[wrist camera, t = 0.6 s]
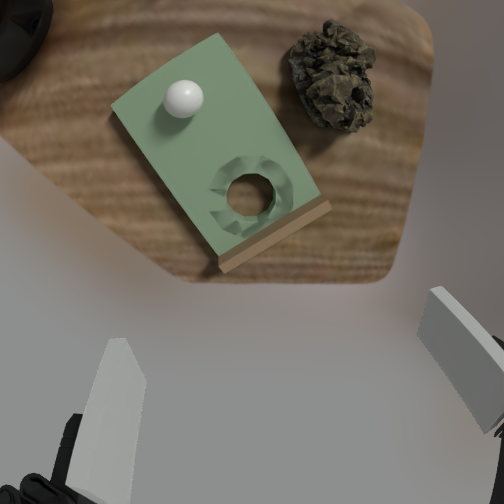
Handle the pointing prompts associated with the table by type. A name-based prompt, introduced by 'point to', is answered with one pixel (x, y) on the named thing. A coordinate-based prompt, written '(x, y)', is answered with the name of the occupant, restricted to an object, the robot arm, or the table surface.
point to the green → (221, 151)
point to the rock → (334, 77)
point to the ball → (183, 99)
